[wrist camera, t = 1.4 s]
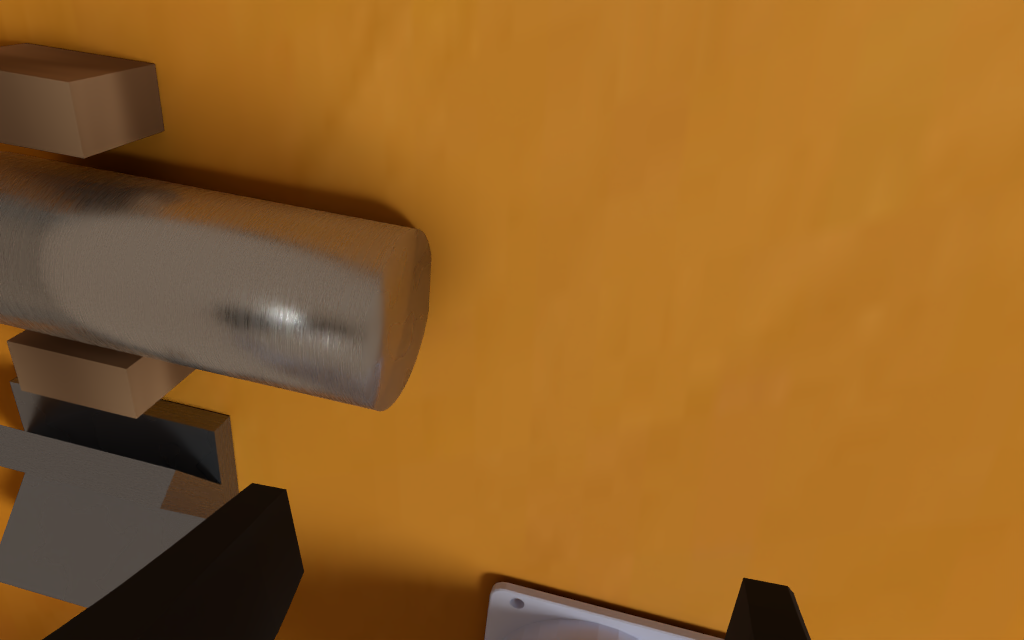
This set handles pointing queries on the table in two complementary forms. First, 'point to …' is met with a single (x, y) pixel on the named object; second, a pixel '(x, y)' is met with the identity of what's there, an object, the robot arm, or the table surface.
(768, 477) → the table surface
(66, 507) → the v block
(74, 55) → the blocks
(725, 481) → the table surface
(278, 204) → the axle
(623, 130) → the table surface
